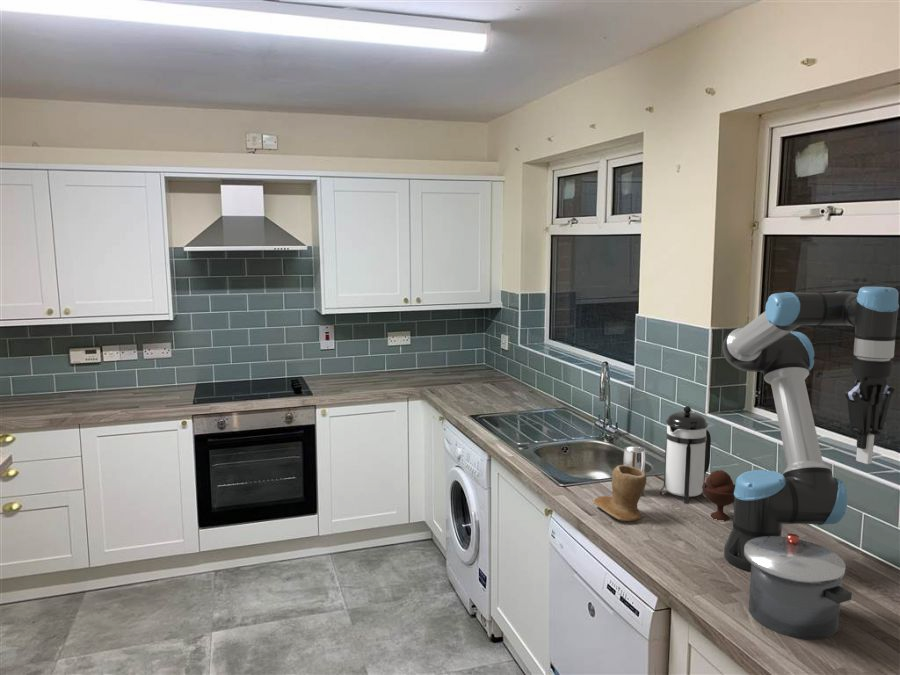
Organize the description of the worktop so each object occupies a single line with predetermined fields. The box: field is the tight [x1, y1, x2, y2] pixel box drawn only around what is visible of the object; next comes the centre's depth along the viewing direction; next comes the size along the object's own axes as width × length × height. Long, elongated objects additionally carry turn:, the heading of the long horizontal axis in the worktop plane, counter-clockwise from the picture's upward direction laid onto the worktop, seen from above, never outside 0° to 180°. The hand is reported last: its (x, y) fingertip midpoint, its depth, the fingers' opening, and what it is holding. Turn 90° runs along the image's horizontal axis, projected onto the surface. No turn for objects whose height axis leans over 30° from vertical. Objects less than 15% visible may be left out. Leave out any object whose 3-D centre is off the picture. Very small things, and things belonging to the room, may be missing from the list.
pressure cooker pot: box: [748, 555, 853, 640], centre depth 153 cm, size 20×24×13 cm
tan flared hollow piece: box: [592, 464, 647, 522], centre depth 209 cm, size 15×12×15 cm
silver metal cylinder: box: [622, 445, 646, 473], centre depth 226 cm, size 7×7×15 cm
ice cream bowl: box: [702, 469, 736, 522], centre depth 206 cm, size 11×11×15 cm
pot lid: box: [744, 533, 846, 583], centre depth 151 cm, size 20×20×3 cm
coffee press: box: [659, 405, 712, 504], centre depth 224 cm, size 17×16×30 cm
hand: (863, 461), depth 153 cm, fingers closed
